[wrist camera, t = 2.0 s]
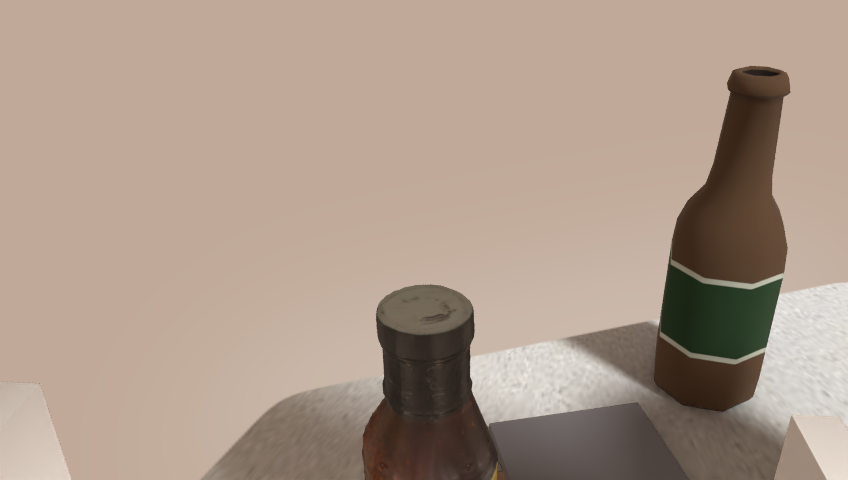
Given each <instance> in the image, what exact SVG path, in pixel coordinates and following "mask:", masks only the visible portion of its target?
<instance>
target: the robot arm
mask: <svg viewBox="0 0 848 480" xmlns="http://www.w3.org/2000/svg"><path fill="white" fill-rule="evenodd" d="M0 480H71V477H70V474H69V471H68V468H67V465H66V462H65V459H64V456H63V452H62V449H61V446H60V443H59V440H58V437H57V434H56V431H55V428H54V425H53V422H52V419H51V416H50V413H49V410H48V407H47V404H46V401H45V398H44V394H43V391H42V388H41V385H40V383H18V382H0ZM774 480H848V429H847V428H846V426H845V424H844V423H843V421H842V420H841V418H840V417H827V416H803V415H792V416H791V419H790V423H789V427H788V430H787V434H786V437H785V441H784V445H783V448H782V452H781V455H780V459H779V463H778V466H777V470H776V474H775V477H774Z"/></svg>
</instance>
